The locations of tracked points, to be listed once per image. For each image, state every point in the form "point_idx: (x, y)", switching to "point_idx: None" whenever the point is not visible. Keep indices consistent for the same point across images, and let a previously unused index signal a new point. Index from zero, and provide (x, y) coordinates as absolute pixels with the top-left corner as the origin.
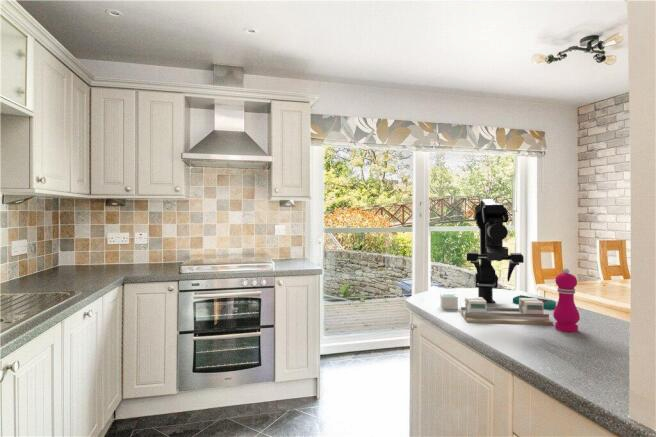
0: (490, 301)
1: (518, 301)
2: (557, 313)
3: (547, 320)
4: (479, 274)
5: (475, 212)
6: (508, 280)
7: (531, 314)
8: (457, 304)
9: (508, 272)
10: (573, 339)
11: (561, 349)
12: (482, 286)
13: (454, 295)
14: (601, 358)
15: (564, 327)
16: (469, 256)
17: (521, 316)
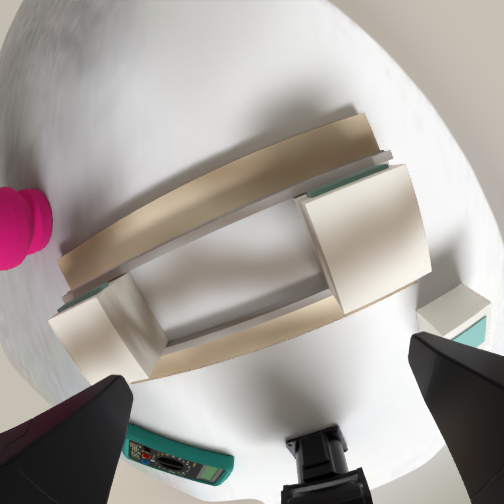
0: (301, 438)
1: (215, 458)
2: (5, 199)
3: (70, 268)
4: (467, 353)
5: None
6: (109, 376)
7: (104, 275)
8: (426, 318)
9: (60, 435)
10: (23, 128)
11: (58, 30)
12: (336, 478)
13: None
14: (15, 45)
15: (24, 189)
16: None
17: (139, 255)
